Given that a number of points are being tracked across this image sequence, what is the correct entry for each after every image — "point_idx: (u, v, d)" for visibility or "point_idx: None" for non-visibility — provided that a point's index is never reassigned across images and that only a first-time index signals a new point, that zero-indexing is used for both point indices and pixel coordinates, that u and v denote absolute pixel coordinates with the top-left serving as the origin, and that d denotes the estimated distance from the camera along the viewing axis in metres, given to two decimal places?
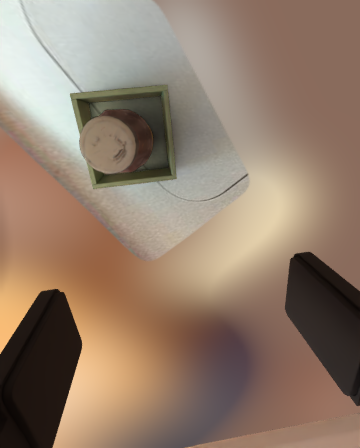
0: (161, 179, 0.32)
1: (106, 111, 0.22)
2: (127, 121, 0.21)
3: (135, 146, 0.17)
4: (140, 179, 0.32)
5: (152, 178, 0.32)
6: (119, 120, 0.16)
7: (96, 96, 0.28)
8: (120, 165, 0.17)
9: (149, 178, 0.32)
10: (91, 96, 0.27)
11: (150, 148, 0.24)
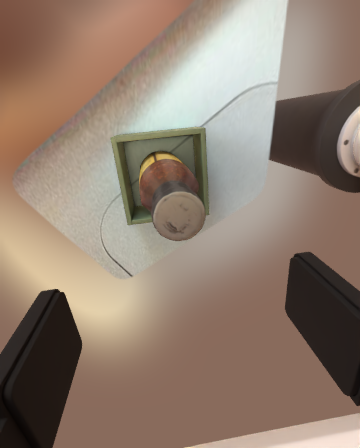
0: (126, 211, 0.31)
1: (197, 185, 0.23)
2: None
3: (179, 240, 0.18)
4: (125, 189, 0.30)
5: (126, 202, 0.31)
6: (201, 227, 0.18)
7: (202, 153, 0.30)
8: (161, 228, 0.18)
9: (126, 199, 0.31)
10: (202, 148, 0.29)
11: None
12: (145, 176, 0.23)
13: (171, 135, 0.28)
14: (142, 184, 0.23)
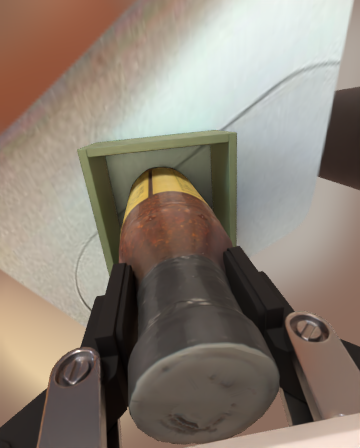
0: (108, 263, 0.20)
1: None
2: None
3: None
4: (105, 232, 0.19)
5: (108, 250, 0.19)
6: (263, 412, 0.07)
7: (229, 173, 0.18)
8: (155, 428, 0.06)
9: (108, 245, 0.19)
10: (230, 166, 0.18)
11: None
12: (127, 232, 0.11)
13: (180, 145, 0.17)
14: (121, 248, 0.11)
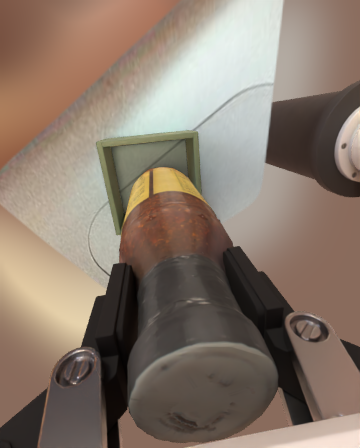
0: (114, 220, 0.29)
1: None
2: None
3: None
4: (112, 198, 0.28)
5: (115, 210, 0.29)
6: (262, 411, 0.07)
7: (194, 158, 0.28)
8: (154, 426, 0.06)
9: (114, 207, 0.29)
10: (195, 153, 0.27)
11: None
12: (128, 232, 0.11)
13: (161, 139, 0.26)
14: (122, 247, 0.12)
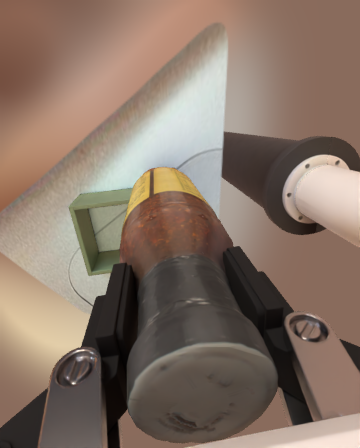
0: (86, 264, 0.35)
1: None
2: None
3: None
4: (84, 247, 0.34)
5: (86, 257, 0.35)
6: (262, 412, 0.07)
7: None
8: (153, 426, 0.06)
9: (86, 254, 0.35)
10: None
11: None
12: (128, 231, 0.11)
13: (122, 203, 0.32)
14: (122, 247, 0.12)
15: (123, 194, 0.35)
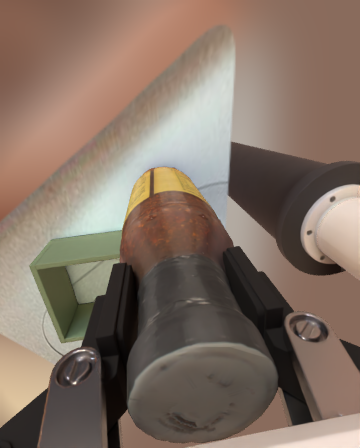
0: (57, 331, 0.28)
1: None
2: None
3: None
4: (53, 311, 0.27)
5: (57, 322, 0.28)
6: (262, 412, 0.07)
7: None
8: (153, 426, 0.06)
9: (56, 319, 0.27)
10: None
11: None
12: (128, 231, 0.11)
13: (100, 259, 0.25)
14: (122, 247, 0.12)
15: (103, 243, 0.27)
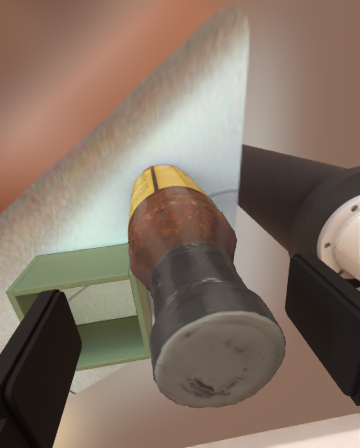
0: None
1: (235, 239, 0.12)
2: None
3: (216, 405, 0.08)
4: None
5: None
6: (271, 377, 0.07)
7: (134, 298, 0.23)
8: (176, 391, 0.07)
9: None
10: (134, 294, 0.22)
11: None
12: (137, 224, 0.12)
13: (89, 283, 0.21)
14: (132, 239, 0.12)
15: (94, 262, 0.24)
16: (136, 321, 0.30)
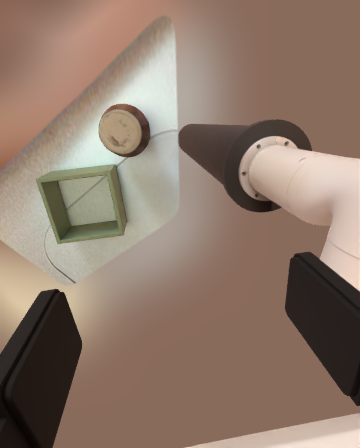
0: (55, 233, 0.40)
1: (147, 122, 0.28)
2: (140, 141, 0.27)
3: (121, 153, 0.23)
4: (52, 217, 0.39)
5: (54, 226, 0.39)
6: (139, 142, 0.23)
7: (110, 188, 0.38)
8: (106, 141, 0.22)
9: (54, 224, 0.39)
10: (110, 185, 0.38)
11: (122, 155, 0.30)
12: None
13: (84, 176, 0.37)
14: None
15: (87, 170, 0.39)
16: (115, 222, 0.45)
